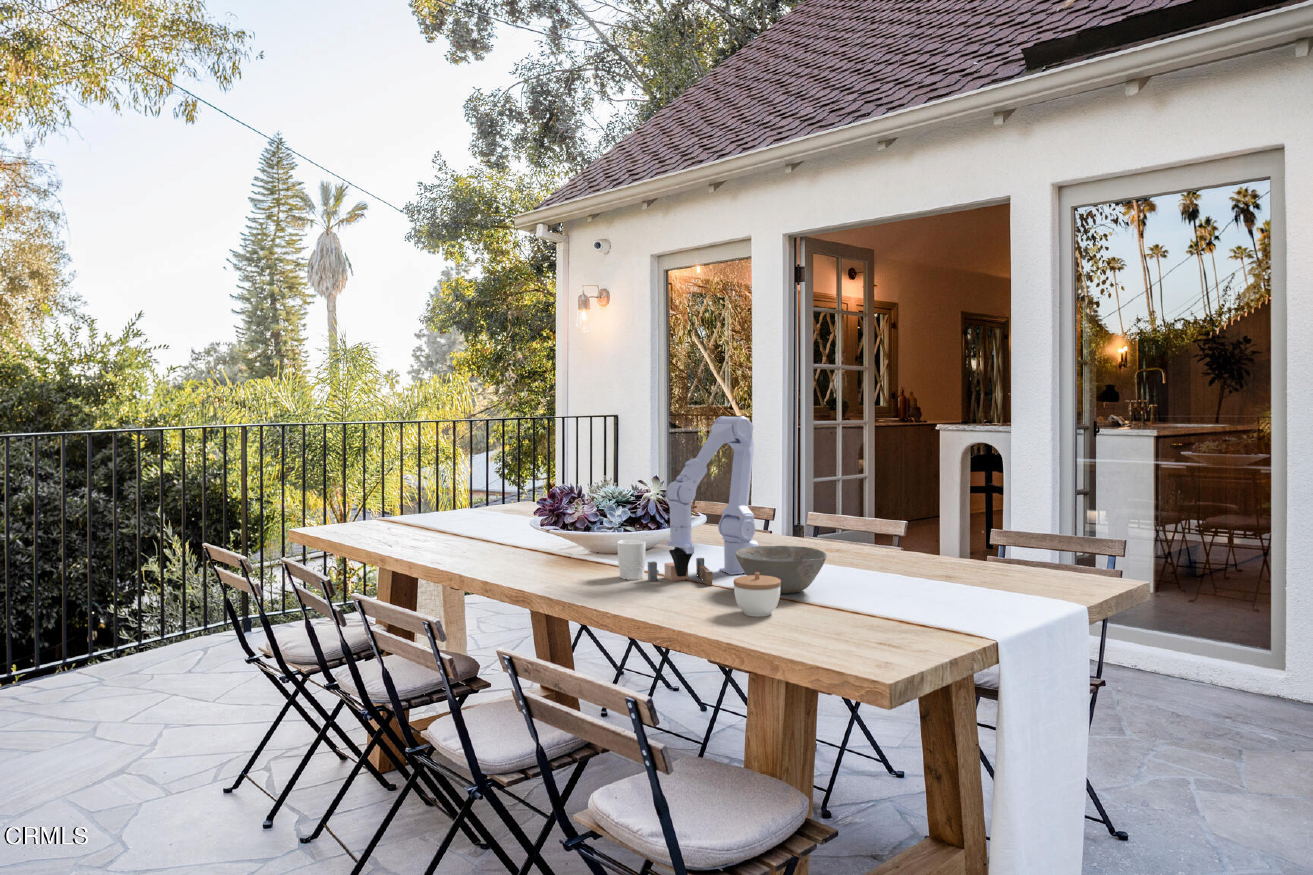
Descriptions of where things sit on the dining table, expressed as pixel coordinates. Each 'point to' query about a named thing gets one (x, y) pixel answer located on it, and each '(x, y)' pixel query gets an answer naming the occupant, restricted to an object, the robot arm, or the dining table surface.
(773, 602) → the lidded jar
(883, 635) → the dining table surface
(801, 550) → the ceramic bowl
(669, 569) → the block
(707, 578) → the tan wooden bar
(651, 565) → the grey blocks
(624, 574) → the white cup
